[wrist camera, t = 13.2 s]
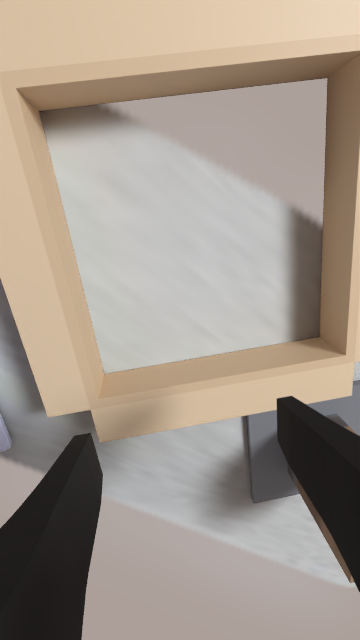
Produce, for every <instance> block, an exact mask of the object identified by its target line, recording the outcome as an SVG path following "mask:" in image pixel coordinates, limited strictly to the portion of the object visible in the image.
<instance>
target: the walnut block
mask: <svg viewBox="0 0 360 640" xmlns="http://www.w3.org/2000/svg"><path fill="white" fill-rule="evenodd" d="M325 417H327V418H329V419H330V420H332V421H334V422H336V423H337V424H339V425H341V426H342V427H344V428H346V429H348V430H350V431H351V432H353V433H355V432H354V431H353V430H352V429H351V428H350V427H349V426H348V425H347V424H346V422H345V421H344V420H343V419H342V418H341V417H340V416H339V415H338V414H337V413H336V414H331V415H326V416H325ZM355 434H356V433H355ZM288 473H289V475H290V477H291V479H292V480H293V482H294V484H295V486H296V487H297V489H298V491H299V493H300V495H301V496H302V498H303V500H304V502H305V503H306V505H307V507H308V509H309V511H310V512H311V514H312V516H313V518H314V519H315V521H316V523H317V525H318V527H319V528H320V530H321V532H322V534H323V535H324V537H325V539H326V541H327V543H328V544H329V546H330V548H331V550H332V551H333V553H334V555H335V557H336V559H337V560H338V562H339V564H340V566H341V567H342V569H343V571H344V573H345V575H346V576H347V578H348V580H349V582H350V583H352V582H354V580H353V578H352V575H351V573H350V571H349V569H348V567H347V565H346V563H345V561H344V559H343V557H342V555H341V553H340V551H339V549H338V547H337V545H336V543H335V541H334V539H333V537H332V536H331V534H330V532H329V530H328V529H327V527H326V525H325V523H324V522H323V520H322V518H321V517H320V515H319V513H318V512H317V510H316V509H315V507H314V505H313V504H312V502H311V501H310V499H309V497H308V496H307V494H306V492H305V491H304V489H303V488H302V486H301V484H300V483H299V481H298V479H297V478H296V476H295V474H294V473H293V471H292V470H291V468H290V466H289V464H288Z"/></svg>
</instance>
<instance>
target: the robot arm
mask: <svg viewBox="0 0 360 640" xmlns="http://www.w3.org/2000/svg"><path fill="white" fill-rule="evenodd" d="M277 440H278V443H279V445H280V447H281V449H282V452H283V454H284V456H285V458H286V460H287V462H288V464H289V466H290V468H291V470H292V471H293V473H294V474H295V476H296V478H297V479H298V481H299V483H300V484H301V486H302V488H303V489H304V491H305V492H306V494H307V496H308V497H309V499H310V501H311V502H312V504H313V505H314V507H315V509H316V510H317V512H318V513H319V515H320V517H321V518H322V520H323V522H324V523H325V525H326V527H327V529H328V530H329V532H330V534H331V536H332V537H333V539H334V541H335V543H336V545H337V547H338V549H339V551H340V553H341V555H342V557H343V559H344V561H345V563H346V565H347V567H348V569H349V571H350V573H351V575H352V578H353V580H354V582H355V584H356V586H357V588H358V590H359V592H360V436H359V435H357V434H355V433H353V432H351V431H350V430H348V429H346V428H344V427H342V426H341V425H339V424H337V423H336V422H334V421H332V420H330V419H329V418H327V417H325V416H324V415H322V414H321V413H319V412H317V411H316V410H314V409H312V408H311V407H309V406H308V405H306V404H304V403H303V402H301V401H300V400H298V399H296V398H295V397H293V396H288V397H282V398H277ZM11 444H12V441H11V438H10V436H9V433H8V431H7V428H6V426H5V423H4V421H3V418H2V416H1V413H0V452H2V451H6V450H8V449H9V448H10V446H11ZM102 479H103V474H102V470H101V467H100V463H99V460H98V456H97V453H96V449H95V446H94V442H93V439H92V436H91V433H88V434H83V435H77V436H74V437H73V439H72V440H71V441H70V443H69V444H68V445H67V447H66V448H65V449H64V451H63V452H62V453H61V455H60V456H59V458H58V459H57V460H56V462H55V463H54V464H53V466H52V467H51V468H50V470H49V471H48V472H47V474H46V475H45V476H44V478H43V479H42V480H41V482H40V483H39V484H38V486H37V487H36V488H35V489H34V491H33V492H32V493H31V494H30V495H29V497H28V498H27V499H26V500H25V501H24V503H23V504H22V505H21V506H20V507H19V509H18V510H17V511H16V512H15V513H14V514H13V515H12V517H11V518H10V519H9V520H8V521H7V522H6V523H5V524H4V525H3V526H2V527H1V528H0V640H81V637H82V625H83V615H84V605H85V594H86V586H87V578H88V572H89V566H90V561H91V555H92V550H93V545H94V539H95V534H96V528H97V523H98V517H99V512H100V506H101V496H102Z"/></svg>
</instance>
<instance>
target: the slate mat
mask: <svg viewBox="0 0 360 640" xmlns="http://www.w3.org/2000/svg"><path fill="white" fill-rule="evenodd" d="M306 405H308V406H309V407H311V408H312V409H314V410H316V411H317V412H319V413H321V414H322V415H324V416H326V415H331V414H336V413H337V414H338V415H339V416H340V417H341V418H342V419H343V420H344V421H345V422H346V424H347V425H348V426H349V427H350V428H351V429H352V430H353V431H354V432H355V433H356V434H357V435H359V436H360V380H359V381H354V382H353V387H352V396H347V397H342V398H336V399H331V400H326V401H320V402H315V403H310V404H306ZM247 429H248V444H249V459H250V474H251V489H252V499H253V502H254V503H258V502H263V501H268V500H273V499H277V498H282V497H287V496H292V495H297V494H300V493H299V491H298V489H297V487H296V486H295V484H294V482H293V480H292V479H291V477H290V475H289V473H288V462H287V460H286V458H285V456H284V454H283V452H282V449H281V447H280V445H279V443H278V440H277V410H273V411H267V412H262V413H257V414H251V415H247Z"/></svg>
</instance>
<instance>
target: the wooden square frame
mask: <svg viewBox="0 0 360 640" xmlns="http://www.w3.org/2000/svg"><path fill="white" fill-rule="evenodd" d="M322 78H328V83H327V84H328V85H327V116H326V148H325V180H324V212H323V243H322V275H321V307H320V337H316V338H311V339H305V340H299V341H293V342H287V343H282V344H276V345H270V346H264V347H259V348H253V349H247V350H241V351H236V352H230V353H224V354H218V355H212V356H207V357H201V358H195V359H189V360H184V361H178V362H172V363H166V364H160V365H155V366H149V367H143V368H137V369H132V370H126V371H120V372H114V373H109V374H104V371H103V367H102V363H101V359H100V355H99V351H98V347H97V343H96V339H95V335H94V330H93V326H92V322H91V318H90V314H89V310H88V306H87V302H86V298H85V294H84V290H83V286H82V282H81V278H80V274H79V270H78V266H77V262H76V258H75V254H74V250H73V246H72V242H71V238H70V234H69V230H68V226H67V222H66V218H65V214H64V210H63V206H62V202H61V198H60V194H59V190H58V186H57V182H56V178H55V174H54V170H53V166H52V162H51V158H50V153H49V149H48V145H47V141H46V137H45V133H44V129H43V125H42V121H41V117H40V113H39V111H44V110H53V109H61V108H70V107H79V106H87V105H96V104H105V103H114V102H121V101H131V100H140V99H148V98H157V97H165V96H174V95H183V94H191V93H200V92H209V91H218V90H226V89H235V88H244V87H252V86H261V85H270V84H279V83H287V82H296V81H304V80H314V79H322ZM0 278H1V281H2V284H3V287H4V290H5V293H6V296H7V299H8V302H9V305H10V308H11V311H12V313H13V316H14V319H15V322H16V325H17V328H18V331H19V334H20V337H21V340H22V343H23V346H24V349H25V352H26V354H27V357H28V360H29V363H30V366H31V369H32V372H33V375H34V378H35V381H36V384H37V387H38V390H39V393H40V395H41V398H42V401H43V404H44V407H45V410H46V413H47V416H48V417H53V416H59V415H64V414H70V413H75V412H81V411H87V410H91V413H92V417H93V420H94V424H95V428H96V431H97V435H98V438H99V442H100V443H102V442H108V441H113V440H118V439H123V438H129V437H134V436H139V435H145V434H150V433H155V432H161V431H166V430H171V429H177V428H182V427H187V426H193V425H198V424H203V423H209V422H214V421H219V420H225V419H230V418H235V417H241V416H246V415H251V414H257V413H262V412H267V411H273V410H277V398H282V397H288V396H293V397H295V398H296V399H298V400H300V401H301V402H303V403H304V404H310V403H315V402H320V401H326V400H331V399H336V398H342V397H347V396H352V387H353V374H354V362H358V361H360V0H0Z"/></svg>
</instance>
